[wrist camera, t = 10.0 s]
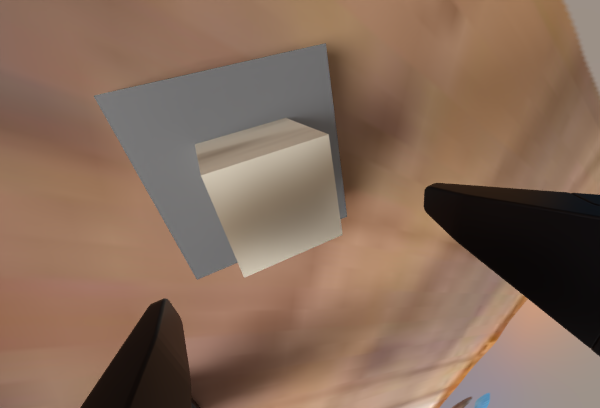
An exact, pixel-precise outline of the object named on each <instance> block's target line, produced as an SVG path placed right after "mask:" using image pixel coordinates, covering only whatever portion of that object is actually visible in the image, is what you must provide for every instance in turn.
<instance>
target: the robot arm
mask: <svg viewBox="0 0 600 408" xmlns="http://www.w3.org/2000/svg"><path fill="white" fill-rule="evenodd" d="M424 209H425V211H426V213H427V214H428V215H429V216H430V217H431V218H432V219H434V220H435V221H436V222H437V223H438V224H439V225H440V226H441V227H442V228H443V229H444V230H445V231H446V232H447V233H448V234H449V235H450V236H451V237H452V238H453V239H454V240H456V241H457V242H458V243H459V244H460V245H461V246H463V247H464V248H465V249H466V250H468V251H469V252H470V253H471V254H473V255H474V256H475V257H476V258H478V259H479V260H480V261H481V262H483V263H484V264H485V265H486V266H488V267H489V268H490V269H491V270H493V271H494V272H495V273H496V274H498V275H499V276H500V277H501V278H503V279H504V280H505V281H506V282H508V283H509V284H510V285H511V286H513V287H514V288H515V289H516V290H518V291H519V292H520V293H521V294H523V295H524V296H525V297H526V298H528V299H529V300H530V301H532V302H533V303H534V304H535V305H537V306H538V307H539V308H540V309H542V310H543V311H544V312H545V313H547V314H548V315H549V316H550V317H552V318H553V319H554V320H555V321H557V322H558V323H559V324H560V325H562V326H563V327H564V328H565V329H567V330H568V331H569V332H570V333H572V334H573V335H574V336H576V337H577V338H578V339H579V340H580V341H582V342H583V343H584V344H585V345H587V346H588V347H589V348H591V349H592V350H593V351H594V352H595V353H596V354H597V355H599V356H600V195H595V194H581V193H571V194H570V193H567V192H553V191H540V190H526V189H513V188H499V187H486V186H472V185H459V184H445V183H435V184H432V185H430V186H428V187H426V189H425V193H424ZM80 408H200V407H199V406H198V405H197V404H196V402H195V401H194V400H193V399H192V398H191V382H190V371H189V364H188V357H187V351H186V344H185V337H184V331H183V324H182V320H181V318H180V316H179V314H178V313H177V311H176V310H175V309H174V307H173V306H172V304H171V303H170V301H169V300H168V299H162V300H159V301H157V302H155V303H152V304H151V305H150V306H149V307H148V308H147V310H146V311H145V313H144V314H143V316H142V317H141V319H140V320H139V322H138V323H137V325H136V326H135V328H134V329H133V330H132V332H131V333H130V335H129V336H128V338H127V339H126V341H125V342H124V344H123V345H122V347H121V348H120V350H119V351H118V353H117V354H116V356H115V357H114V359H113V360H112V362H111V363H110V365H109V366H108V368H107V369H106V370H105V372H104V373H103V375H102V376H101V378H100V379H99V381H98V382H97V384H96V385H95V387H94V388H93V390H92V391H91V393H90V394H89V396H88V397H87V399H86V400H85V402H84V403H83V405H82V406H81V407H80Z"/></svg>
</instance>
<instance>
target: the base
mask: <svg viewBox="0 0 600 408" xmlns="http://www.w3.org/2000/svg"><path fill="white" fill-rule="evenodd" d="M94 97H95V99H96V101H97V103H98V105H99V106H100V108H101V110H102V112H103V113H104V115H105V117H106V119H107V121H108V122H109V124H110V126H111V128H112V129H113V131H114V133H115V135H116V137H117V138H118V140H119V142H120V144H121V145H122V147H123V149H124V151H125V153H126V154H127V156H128V158H129V160H130V161H131V163H132V165H133V167H134V169H135V170H136V172H137V174H138V176H139V177H140V179H141V181H142V183H143V185H144V186H145V188H146V190H147V192H148V193H149V195H150V197H151V199H152V201H153V202H154V204H155V206H156V208H157V209H158V211H159V213H160V215H161V217H162V218H163V220H164V222H165V224H166V225H167V227H168V229H169V231H170V232H171V234H172V236H173V238H174V240H175V241H176V243H177V245H178V247H179V248H180V250H181V252H182V254H183V256H184V257H185V259H186V261H187V263H188V264H189V266H190V268H191V270H192V272H193V273H194V275H195V277H196V279H200V278H202V277H205V276H207V275H209V274H212V273H214V272H216V271H219V270H221V269H224V268H226V267H228V266H231V265H233V264H235V263H238V262H237V259H236V257H235V255H234V252H233V250H232V248H231V245H230V243H229V241H228V238H227V236H226V234H225V231H224V229H223V227H222V224H221V222H220V219H219V217H218V215H217V212H216V210H215V208H214V205H213V203H212V201H211V198H210V196H209V194H208V191H207V189H206V187H205V184H204V182H203V180H202V177H201V174H200V169H199V164H198V159H197V154H196V148H195V144H197V143H201V142H204V141H208V140H211V139H215V138H218V137H222V136H225V135H228V134H232V133H235V132H239V131H242V130H246V129H249V128H253V127H256V126H259V125H263V124H266V123H270V122H273V121H277V120H280V119H283V118H288V119H290V120H293V121H295V122H298V123H301V124H303V125H306V126H308V127H311V128H314V129H316V130H319V131H321V132H324V133H326V134H329V140H330V147H331V155H332V162H333V169H334V177H335V184H336V191H337V198H338V206H339V213H340V219H342V218H345V217H347V212H346V203H345V195H344V187H343V179H342V171H341V163H340V155H339V147H338V138H337V130H336V122H335V114H334V106H333V98H332V90H331V82H330V74H329V65H328V57H327V49H326V43H325V44H320V45H316V46H311V47H307V48H303V49H298V50H294V51H289V52H285V53H280V54H276V55H272V56H267V57H263V58H258V59H254V60H250V61H245V62H241V63H236V64H232V65H227V66H223V67H219V68H214V69H210V70H205V71H201V72H197V73H192V74H188V75H183V76H179V77H174V78H170V79H166V80H161V81H157V82H152V83H148V84H143V85H139V86H135V87H130V88H126V89H121V90H117V91H113V92H108V93H104V94H99V95H95V96H94Z"/></svg>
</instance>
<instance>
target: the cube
mask: <svg viewBox="0 0 600 408" xmlns="http://www.w3.org/2000/svg"><path fill="white" fill-rule="evenodd" d="M195 148H196V154H197V159H198V164H199V169H200V174H201V177H202V180H203V182H204V184H205V187H206V189H207V191H208V194H209V196H210V198H211V201H212V203H213V205H214V208H215V210H216V212H217V215H218V217H219V219H220V222H221V224H222V227H223V229H224V231H225V234H226V236H227V238H228V241H229V243H230V245H231V248H232V250H233V252H234V255H235V257H236V259H237V262H238V264H239V267H240V269H241V271H242V274H243V276H244V278H245V277H247V276H249V275H252V274H254V273H256V272H259V271H261V270H263V269H265V268H268V267H270V266H272V265H275V264H277V263H279V262H281V261H284V260H286V259H288V258H291V257H293V256H295V255H298V254H300V253H302V252H304V251H307V250H309V249H311V248H314V247H316V246H318V245H320V244H323V243H325V242H327V241H330V240H332V239H334V238H336V237H339V236H341V235H342V228H341V220H340V213H339V206H338V198H337V191H336V184H335V177H334V169H333V162H332V155H331V147H330V140H329V134H326V133H324V132H321V131H319V130H316V129H314V128H311V127H308V126H306V125H303V124H301V123H298V122H295V121H293V120H290V119H288V118H283V119H280V120H277V121H273V122H270V123H266V124H263V125H259V126H256V127H253V128H249V129H246V130H242V131H239V132H235V133H232V134H228V135H225V136H222V137H218V138H215V139H211V140H208V141H204V142H201V143H197V144H195Z"/></svg>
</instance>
